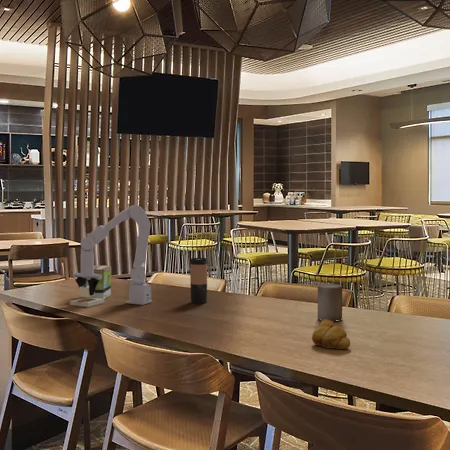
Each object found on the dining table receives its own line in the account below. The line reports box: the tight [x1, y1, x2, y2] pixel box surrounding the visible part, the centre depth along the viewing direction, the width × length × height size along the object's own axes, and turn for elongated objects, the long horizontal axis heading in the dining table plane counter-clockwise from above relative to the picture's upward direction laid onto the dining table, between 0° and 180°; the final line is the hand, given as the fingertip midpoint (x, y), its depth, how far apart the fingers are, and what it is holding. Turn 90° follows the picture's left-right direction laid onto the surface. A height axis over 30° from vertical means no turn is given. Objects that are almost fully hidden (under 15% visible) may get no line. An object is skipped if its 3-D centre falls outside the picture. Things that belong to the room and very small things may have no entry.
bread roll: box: [311, 319, 351, 350], centre depth 182 cm, size 13×10×8 cm
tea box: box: [86, 265, 112, 300], centre depth 267 cm, size 15×10×15 cm, turn 179°
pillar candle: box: [317, 282, 343, 321], centre depth 222 cm, size 10×10×15 cm
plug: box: [78, 285, 95, 299], centre depth 249 cm, size 4×5×6 cm
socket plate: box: [69, 297, 105, 309], centre depth 250 cm, size 10×11×3 cm
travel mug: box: [189, 257, 208, 304], centre depth 257 cm, size 8×8×20 cm
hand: (87, 294), depth 249 cm, fingers closed on plug, 4 cm apart
